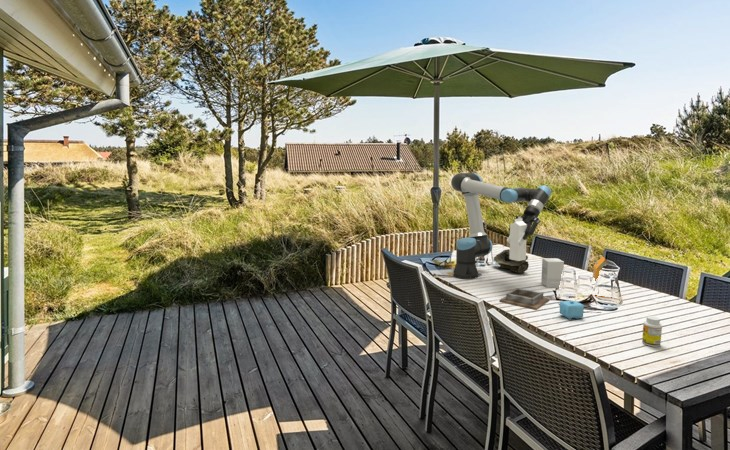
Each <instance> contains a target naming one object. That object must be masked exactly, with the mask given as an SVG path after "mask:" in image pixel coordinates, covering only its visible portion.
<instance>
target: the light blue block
mask: <svg viewBox="0 0 730 450" xmlns="http://www.w3.org/2000/svg"><path fill="white" fill-rule="evenodd" d="M556 304H557V305H558V306H559V314H560V315H562V316H563V317H565V318H566V319H568V320H572V319H574V318H575V319H576V320H579V319H580V318H584V308H585V306H584V304H582V303H580V302H578V301H576V300H563V301H559V303H556Z"/></svg>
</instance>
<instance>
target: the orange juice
mask: <svg viewBox="0 0 730 450" xmlns="http://www.w3.org/2000/svg"><path fill="white" fill-rule="evenodd" d="M597 262H598V265H597V264H596V263H597ZM605 264H609V265H610V263H609V262H608V260H607V259H606V257H604V256H603V255H602V256H601V257H600V258H599V259H598V260H596V262H595V263H594V265H593V269H592V270H593V271H592V278H593V277H594V278H595V281H596V279H597V278H598V276H599V271H600V270H602V267H603V266H604V265H605ZM596 270H597V271H596Z"/></svg>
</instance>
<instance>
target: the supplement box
mask: <svg viewBox="0 0 730 450" xmlns="http://www.w3.org/2000/svg"><path fill="white" fill-rule="evenodd" d="M564 266H565V261H564V260H561V259H560V258H555V257H554V258H553V257H550V258H545V257H543V258H542V259H541V279H540V281H541V282H540V283H541V284H542V285H543V286H545V288H560V287H559V285H560V281H561V274H562V270H563V269H564V270H565V267H564Z"/></svg>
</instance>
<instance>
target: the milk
mask: <svg viewBox="0 0 730 450" xmlns="http://www.w3.org/2000/svg"><path fill="white" fill-rule="evenodd" d="M514 220H515V222H514V221H513V222H514V223H513V222H512V223H510V224H509V228H510V231H509V234H510V244H509V250H510V252H509V259H511V260H515V261H522V260H526V255H527V239H526V240H524V241H523V243H522V245H519V243H518V241H519V239H520V237H521V236H522V234H523V233H525V231H526V228H527V224H525V223H524V222H523V221H522V218H520V219H516V218H515V219H514ZM526 261H527V260H526Z"/></svg>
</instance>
